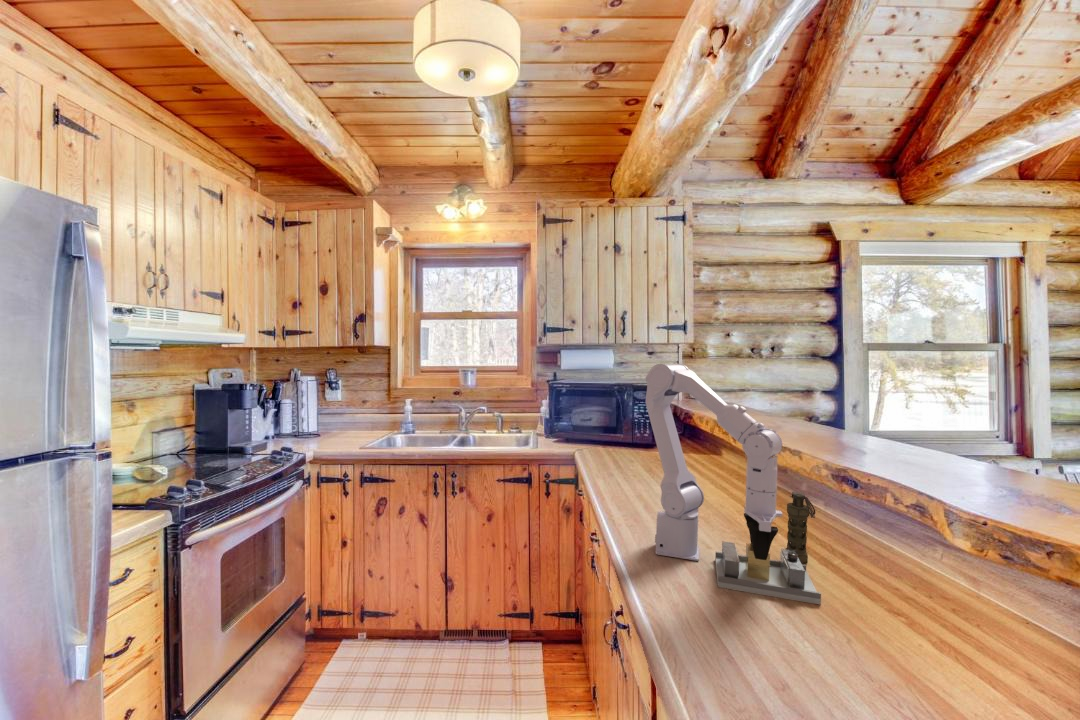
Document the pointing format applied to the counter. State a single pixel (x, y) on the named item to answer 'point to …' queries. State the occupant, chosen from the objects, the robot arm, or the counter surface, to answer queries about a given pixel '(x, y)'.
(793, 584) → the bar
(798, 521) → the grenade
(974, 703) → the counter surface
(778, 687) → the counter surface
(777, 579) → the board
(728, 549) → the fixed jaw
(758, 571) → the block
